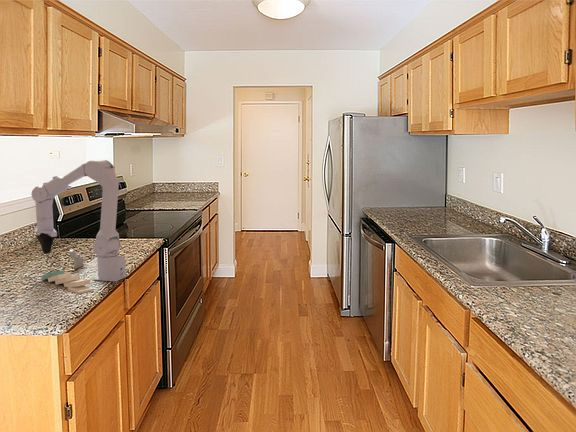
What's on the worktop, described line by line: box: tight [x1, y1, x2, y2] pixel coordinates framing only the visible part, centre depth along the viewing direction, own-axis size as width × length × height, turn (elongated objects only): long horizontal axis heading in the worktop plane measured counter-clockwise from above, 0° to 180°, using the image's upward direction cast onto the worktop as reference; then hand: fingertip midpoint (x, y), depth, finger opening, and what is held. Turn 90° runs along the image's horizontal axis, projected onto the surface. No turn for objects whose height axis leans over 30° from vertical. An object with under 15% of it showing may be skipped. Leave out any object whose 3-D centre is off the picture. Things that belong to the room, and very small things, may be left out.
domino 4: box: [67, 285, 93, 295], centre depth 184 cm, size 2×5×8 cm
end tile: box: [41, 269, 65, 281], centre depth 197 cm, size 2×5×8 cm
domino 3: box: [63, 278, 91, 288], centre depth 187 cm, size 2×5×8 cm
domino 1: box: [47, 271, 73, 283], centre depth 194 cm, size 2×5×8 cm
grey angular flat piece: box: [68, 249, 84, 269], centre depth 217 cm, size 7×2×8 cm, turn 169°
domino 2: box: [54, 274, 81, 286], centre depth 191 cm, size 2×5×8 cm
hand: (46, 253), depth 204 cm, fingers closed
